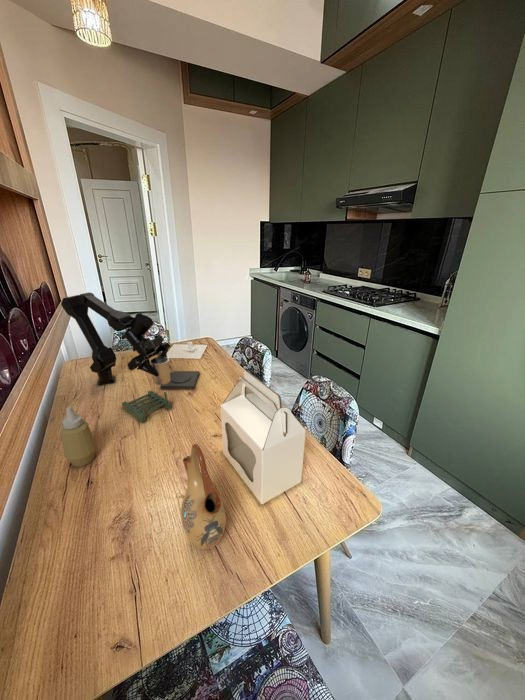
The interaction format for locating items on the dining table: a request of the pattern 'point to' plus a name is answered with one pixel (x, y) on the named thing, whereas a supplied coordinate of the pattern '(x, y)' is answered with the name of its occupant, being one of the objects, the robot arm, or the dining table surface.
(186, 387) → the hob
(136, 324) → the robot arm
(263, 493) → the gable box
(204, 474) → the ceramic vessel
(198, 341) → the dining table surface
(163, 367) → the steel pot
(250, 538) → the dining table surface
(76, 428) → the squeeze bottle
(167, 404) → the dish rack
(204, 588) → the dining table surface
